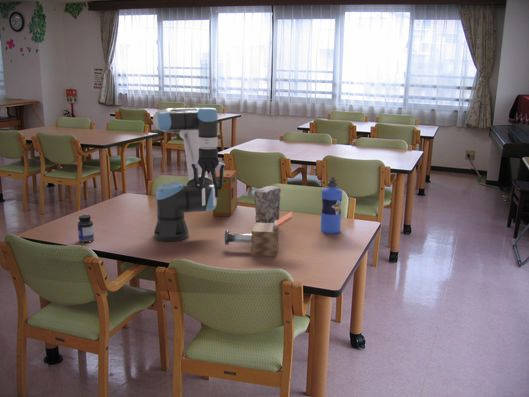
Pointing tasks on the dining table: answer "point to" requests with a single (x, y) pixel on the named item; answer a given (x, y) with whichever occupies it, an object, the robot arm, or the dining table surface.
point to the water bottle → (331, 208)
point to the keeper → (282, 220)
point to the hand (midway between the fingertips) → (209, 204)
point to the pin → (237, 237)
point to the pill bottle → (85, 228)
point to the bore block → (265, 239)
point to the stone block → (267, 204)
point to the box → (227, 194)
